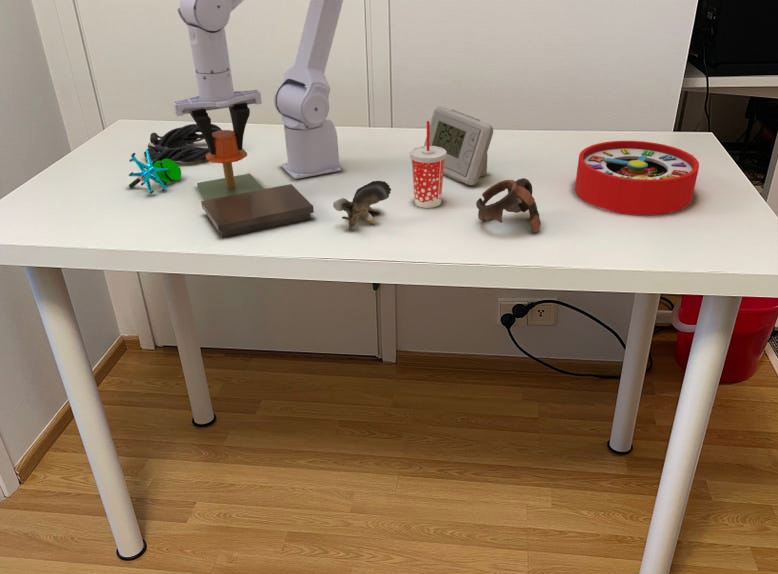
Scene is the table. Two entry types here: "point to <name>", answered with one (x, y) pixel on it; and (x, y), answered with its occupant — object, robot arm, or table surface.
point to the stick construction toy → (155, 172)
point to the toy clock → (636, 177)
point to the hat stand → (228, 184)
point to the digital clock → (461, 144)
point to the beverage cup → (427, 173)
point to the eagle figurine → (363, 202)
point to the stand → (257, 210)
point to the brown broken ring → (509, 202)
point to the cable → (179, 144)
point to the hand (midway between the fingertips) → (225, 150)
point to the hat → (226, 148)
